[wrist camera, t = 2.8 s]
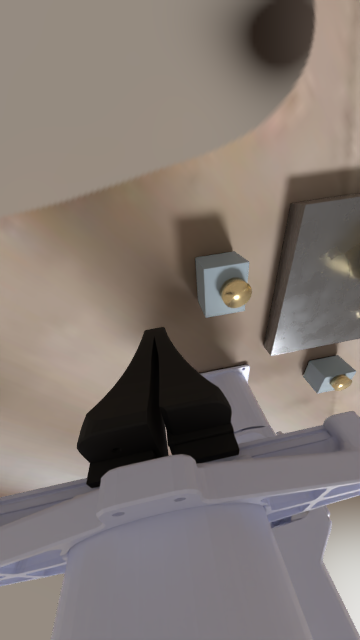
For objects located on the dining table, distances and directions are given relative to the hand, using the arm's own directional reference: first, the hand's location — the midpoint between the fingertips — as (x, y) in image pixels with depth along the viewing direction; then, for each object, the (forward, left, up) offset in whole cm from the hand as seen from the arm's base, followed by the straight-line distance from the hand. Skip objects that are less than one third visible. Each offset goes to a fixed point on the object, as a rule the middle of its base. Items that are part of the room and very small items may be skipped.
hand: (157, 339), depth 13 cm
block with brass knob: (+7, 0, -8) cm, 11 cm away
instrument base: (+23, -3, -9) cm, 25 cm away
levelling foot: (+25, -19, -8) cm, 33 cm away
